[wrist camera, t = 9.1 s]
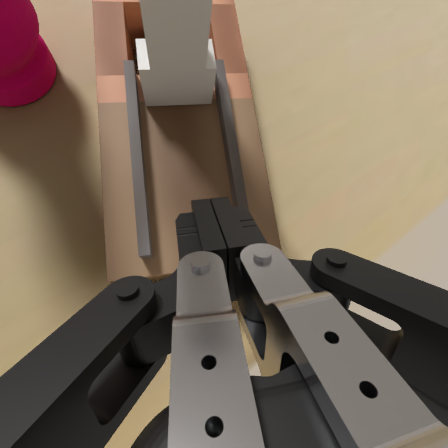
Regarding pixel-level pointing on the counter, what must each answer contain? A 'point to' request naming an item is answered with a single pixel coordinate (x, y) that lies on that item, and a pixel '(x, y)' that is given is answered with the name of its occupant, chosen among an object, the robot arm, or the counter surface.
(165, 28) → the launcher plunger
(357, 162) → the counter surface
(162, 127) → the launcher track
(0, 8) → the pepper mill
